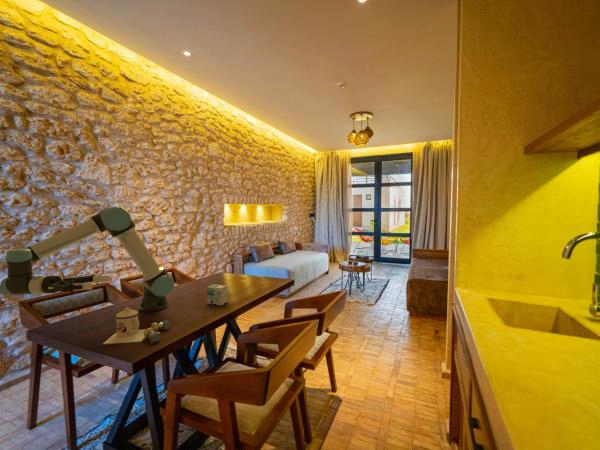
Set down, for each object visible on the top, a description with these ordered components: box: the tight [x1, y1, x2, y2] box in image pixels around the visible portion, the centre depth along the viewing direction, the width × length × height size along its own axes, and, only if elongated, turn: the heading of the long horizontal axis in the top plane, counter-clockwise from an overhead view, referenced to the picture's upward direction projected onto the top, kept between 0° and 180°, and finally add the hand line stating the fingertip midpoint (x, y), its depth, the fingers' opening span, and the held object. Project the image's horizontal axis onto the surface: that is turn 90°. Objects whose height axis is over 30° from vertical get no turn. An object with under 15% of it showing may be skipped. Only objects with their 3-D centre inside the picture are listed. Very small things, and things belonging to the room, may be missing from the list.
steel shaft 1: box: [144, 327, 161, 344], centre depth 123 cm, size 7×4×5 cm, turn 54°
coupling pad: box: [102, 328, 147, 345], centre depth 127 cm, size 13×15×1 cm
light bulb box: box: [206, 284, 228, 306], centre depth 175 cm, size 11×7×11 cm, turn 71°
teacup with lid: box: [115, 307, 140, 336], centre depth 129 cm, size 12×9×12 cm
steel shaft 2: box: [150, 319, 170, 332], centre depth 134 cm, size 7×4×5 cm, turn 144°
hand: (100, 282), depth 124 cm, fingers open, 13 cm apart
